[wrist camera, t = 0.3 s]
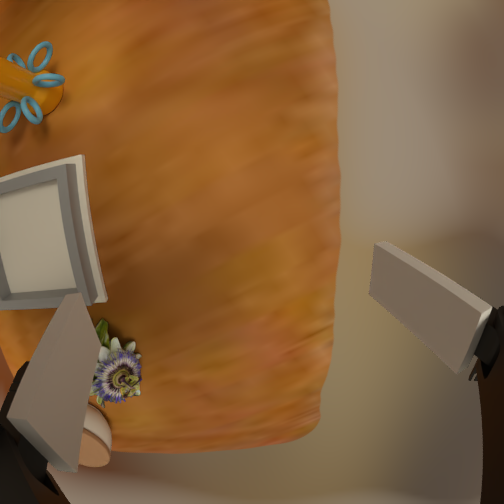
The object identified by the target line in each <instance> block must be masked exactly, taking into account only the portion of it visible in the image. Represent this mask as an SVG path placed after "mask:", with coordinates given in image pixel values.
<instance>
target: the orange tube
mask: <svg viewBox="0 0 504 504" xmlns="http://www.w3.org/2000/svg"><path fill="white" fill-rule="evenodd" d="M43 47H46V48H47V55H46V57H45V59H44V61H43V62H42V64H41V65H40V66H38V67H34V66H33V61H34V58H35V55H36V54H37V52H38V51H39V50H40V49H41V48H43ZM52 52H53V47H52V44H51V43H50V42H47V41H45V42H42V43H40V44H38V45H37V46H36V47H35V48H34V49H33V51H32V52H31V54H30V56H29V58H28V63H27V67H28V69H26V66H25V64H24V62H23V60H22V59H21V58H20V57H19V56H18V55H16V54H14V53H11V54H9V55H8V57H7V59H5V58H3V57H0V97H2V98H5V99H9V100H12V101H10V102H9V103H7V104H6V105H5V106H4V107H3V109H2V110H1V112H0V132H1V133H7V132H9V131H10V130H12V129H13V128H14V126H15V125H16V124H17V122H18V120H19V118H20V115H21V111H22V112H23V114H24V115H25V117H26V118H27V119H28V120H29V121H30V122H31V123H33V124H40V123H41V122H42V119H43V115H46V114H48V113H50V112H51V111H53V110H54V109H55V108H56V106H57V105H58V104H59V102H60V100H61V98H62V94H63V83H64V82H65V78H64V77H63V76H62V75H59V74H53V73H50V72H48V71H46V70H44V68H45V66H46V65H47V64H48V62H49V60H50V58H51V56H52ZM12 59H13V60H14V61H16V62H17V64H18V65H17V64H15V63H13V60H12ZM13 106H15V107H16V114H15V117H14V119H13V121H12V122H11V124H10V125H8V126H7V127H4V126H3V118H4V116H5V114H6V112H7V111H8V110H9V109H10V108H11V107H13ZM32 114H34V115H37V118H36V117H35V116H33V115H32Z"/></svg>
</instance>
